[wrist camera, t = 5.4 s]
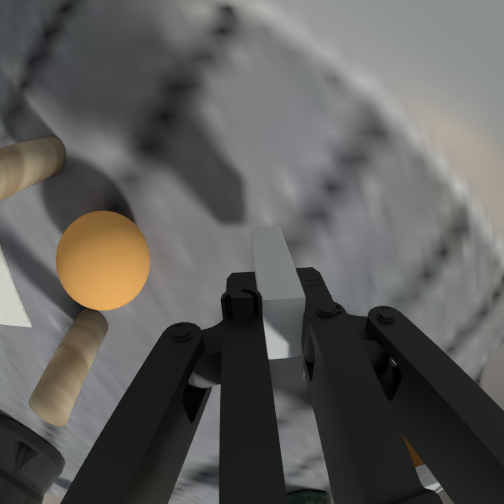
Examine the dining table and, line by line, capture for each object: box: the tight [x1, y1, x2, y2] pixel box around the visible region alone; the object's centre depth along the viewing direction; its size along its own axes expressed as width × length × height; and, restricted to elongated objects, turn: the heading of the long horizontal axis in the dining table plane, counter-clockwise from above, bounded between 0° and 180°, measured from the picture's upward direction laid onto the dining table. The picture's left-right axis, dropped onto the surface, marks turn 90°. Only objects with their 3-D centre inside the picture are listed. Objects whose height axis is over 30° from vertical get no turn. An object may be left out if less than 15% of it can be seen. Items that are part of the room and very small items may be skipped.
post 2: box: [29, 309, 108, 426], centre depth 17 cm, size 3×3×9 cm
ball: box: [56, 211, 150, 310], centre depth 16 cm, size 6×6×6 cm
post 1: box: [0, 136, 66, 201], centre depth 11 cm, size 3×3×9 cm
